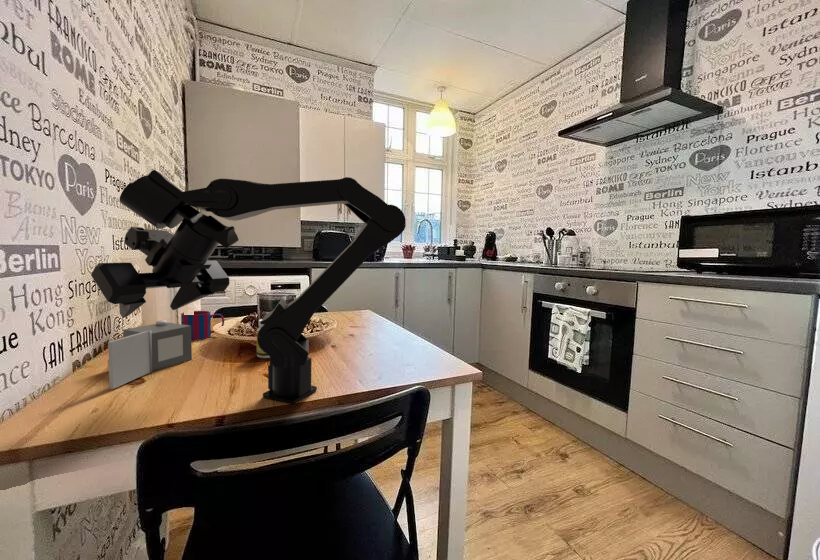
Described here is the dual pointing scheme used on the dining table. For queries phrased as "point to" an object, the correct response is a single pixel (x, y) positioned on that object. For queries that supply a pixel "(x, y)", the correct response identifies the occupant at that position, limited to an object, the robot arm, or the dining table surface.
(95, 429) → the dining table surface
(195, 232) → the robot arm
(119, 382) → the side door
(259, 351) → the supplement bottle
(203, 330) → the mug
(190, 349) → the camera body
